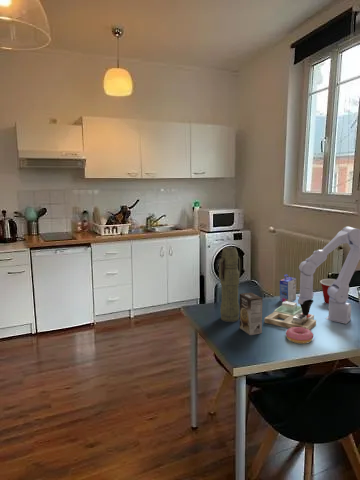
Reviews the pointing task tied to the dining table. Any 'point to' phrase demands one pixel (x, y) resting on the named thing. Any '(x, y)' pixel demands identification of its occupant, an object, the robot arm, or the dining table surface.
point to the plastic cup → (326, 288)
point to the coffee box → (251, 313)
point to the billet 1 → (289, 307)
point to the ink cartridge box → (287, 289)
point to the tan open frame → (287, 321)
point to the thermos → (229, 284)
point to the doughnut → (299, 335)
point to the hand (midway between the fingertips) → (305, 314)
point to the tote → (299, 310)
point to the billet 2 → (299, 319)
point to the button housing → (310, 317)
